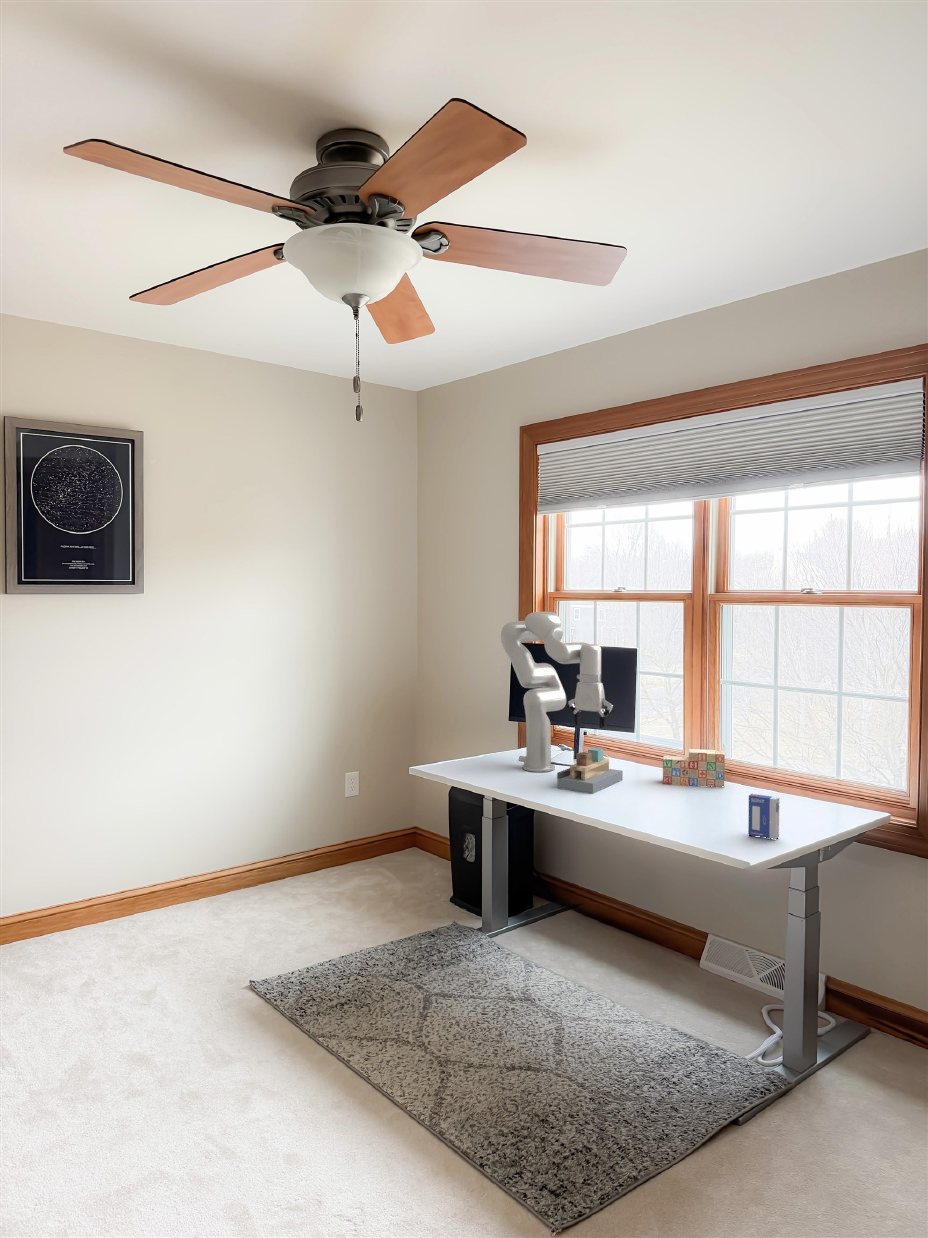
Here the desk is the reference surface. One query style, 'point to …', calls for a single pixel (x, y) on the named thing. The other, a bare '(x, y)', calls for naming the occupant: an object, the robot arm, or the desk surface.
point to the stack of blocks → (695, 769)
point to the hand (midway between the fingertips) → (590, 726)
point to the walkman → (763, 816)
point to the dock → (588, 781)
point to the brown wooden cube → (583, 759)
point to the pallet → (589, 769)
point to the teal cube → (596, 754)
